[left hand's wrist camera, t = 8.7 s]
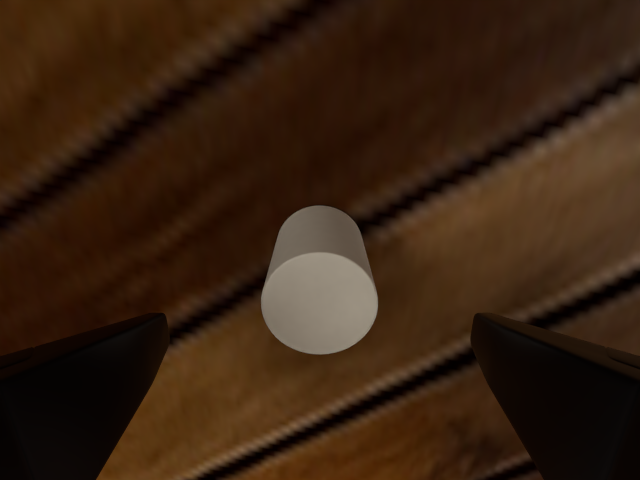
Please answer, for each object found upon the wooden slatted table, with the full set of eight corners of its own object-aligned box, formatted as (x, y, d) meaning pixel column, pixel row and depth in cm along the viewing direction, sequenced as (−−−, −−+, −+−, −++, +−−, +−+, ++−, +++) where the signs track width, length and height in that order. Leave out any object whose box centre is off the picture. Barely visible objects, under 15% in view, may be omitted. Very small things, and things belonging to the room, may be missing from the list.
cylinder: (260, 254, 17) (238, 317, 13) (310, 187, 16) (306, 229, 11) (328, 298, 18) (331, 373, 13) (380, 237, 17) (402, 295, 12)
